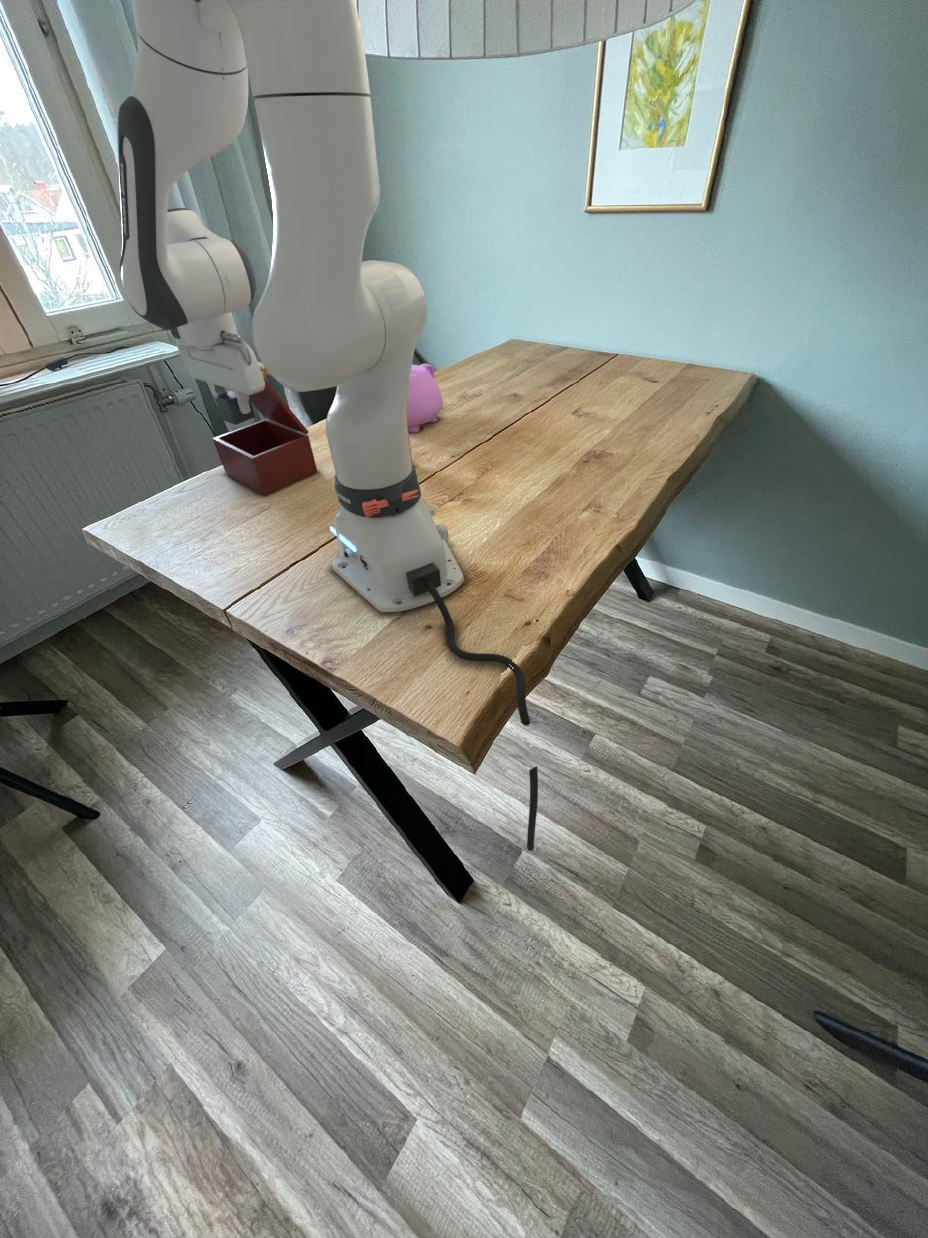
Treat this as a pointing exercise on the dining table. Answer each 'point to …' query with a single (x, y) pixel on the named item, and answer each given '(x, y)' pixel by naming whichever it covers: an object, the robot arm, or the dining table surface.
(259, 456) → the red hinged box
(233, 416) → the block
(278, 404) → the cover
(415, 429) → the pink piggy bank
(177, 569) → the dining table surface
